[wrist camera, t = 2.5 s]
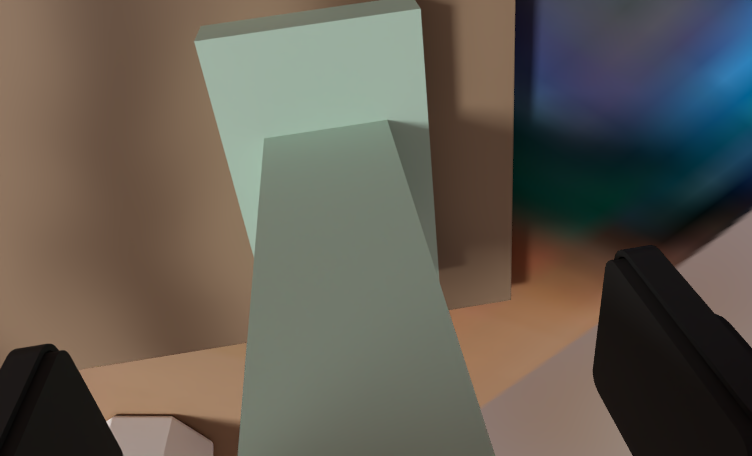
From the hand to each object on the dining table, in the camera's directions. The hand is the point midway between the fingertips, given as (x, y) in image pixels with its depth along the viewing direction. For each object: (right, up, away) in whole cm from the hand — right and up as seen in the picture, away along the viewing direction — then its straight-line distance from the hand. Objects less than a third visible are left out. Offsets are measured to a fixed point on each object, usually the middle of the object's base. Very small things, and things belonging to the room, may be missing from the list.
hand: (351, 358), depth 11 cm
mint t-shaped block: (-1, +4, +6) cm, 7 cm away
